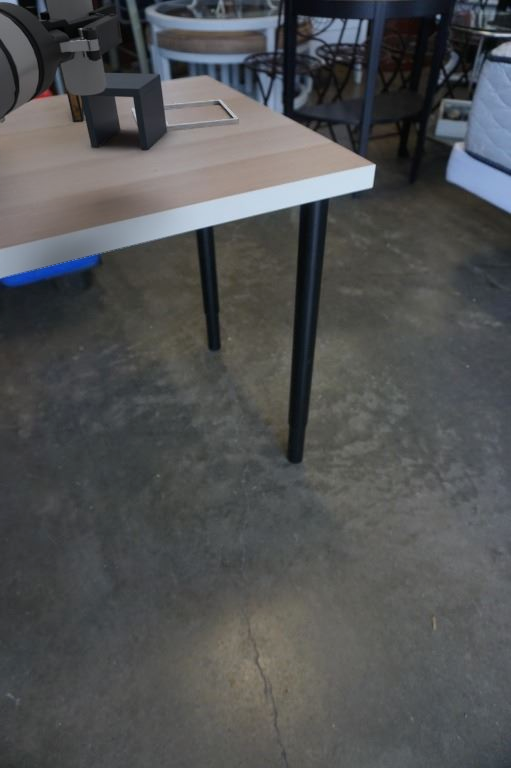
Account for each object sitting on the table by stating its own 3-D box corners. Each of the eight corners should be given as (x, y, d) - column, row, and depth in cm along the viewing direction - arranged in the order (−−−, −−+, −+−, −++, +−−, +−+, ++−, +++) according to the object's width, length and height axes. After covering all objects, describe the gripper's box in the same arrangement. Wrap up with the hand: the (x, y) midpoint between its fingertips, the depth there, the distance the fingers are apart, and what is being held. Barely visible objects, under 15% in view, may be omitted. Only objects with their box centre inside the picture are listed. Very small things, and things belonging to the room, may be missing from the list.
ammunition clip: (74, 107, 108) (58, 37, 100) (83, 106, 108) (68, 36, 100) (73, 121, 100) (56, 47, 92) (83, 121, 100) (67, 46, 92)
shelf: (91, 147, 89) (78, 87, 83) (114, 129, 96) (104, 72, 90) (147, 149, 87) (138, 88, 81) (167, 131, 95) (160, 73, 89)
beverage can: (108, 85, 66) (86, -38, 58) (107, 95, 63) (83, -35, 55) (68, 87, 66) (41, -36, 58) (65, 97, 62) (34, -33, 54)
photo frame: (131, 106, 104) (220, 98, 107) (132, 112, 105) (221, 104, 108) (139, 127, 93) (238, 117, 97) (140, 134, 94) (238, 124, 97)
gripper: (-78, 105, 50) (28, 54, 67) (106, 107, 48) (167, 55, 65) (-117, 7, 45) (9, -20, 62) (87, 6, 43) (158, -22, 60)
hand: (90, 18), depth 64 cm, fingers closed on beverage can, 5 cm apart
